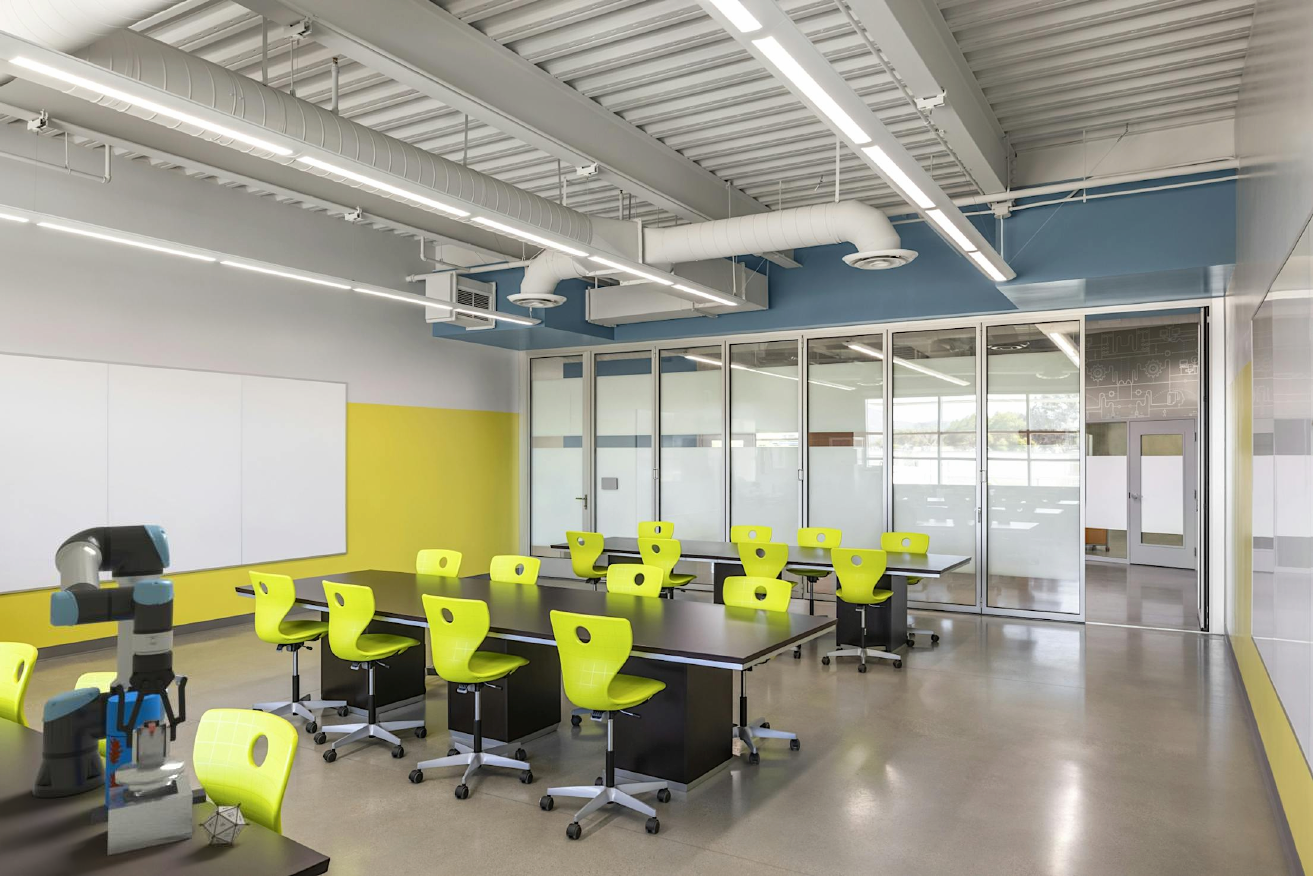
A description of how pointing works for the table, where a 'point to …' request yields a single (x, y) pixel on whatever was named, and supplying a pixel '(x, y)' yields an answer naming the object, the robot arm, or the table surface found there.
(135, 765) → the lid
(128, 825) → the base
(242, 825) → the game die
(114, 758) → the thermos
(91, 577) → the robot arm
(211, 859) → the table surface
